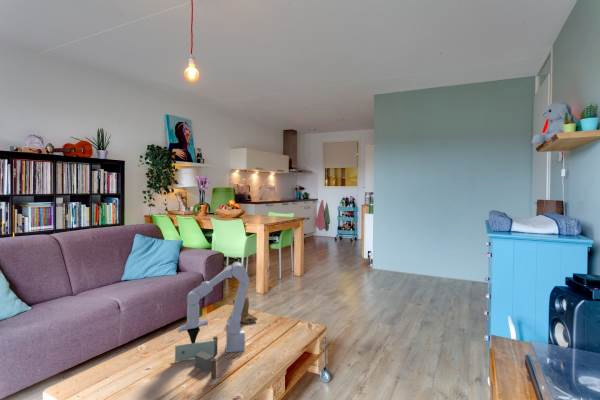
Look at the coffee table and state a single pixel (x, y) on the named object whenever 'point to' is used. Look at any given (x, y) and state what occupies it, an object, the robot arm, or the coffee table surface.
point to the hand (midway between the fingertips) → (192, 342)
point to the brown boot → (246, 312)
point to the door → (194, 349)
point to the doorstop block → (203, 361)
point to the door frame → (214, 362)
